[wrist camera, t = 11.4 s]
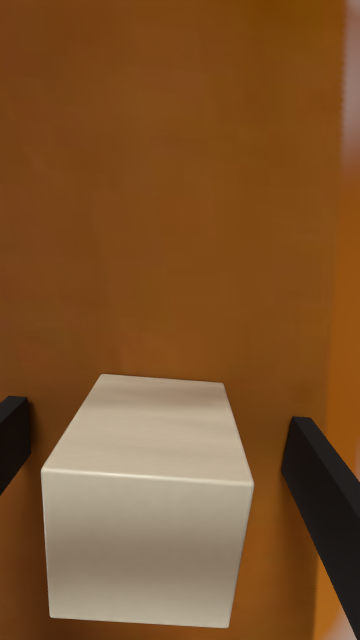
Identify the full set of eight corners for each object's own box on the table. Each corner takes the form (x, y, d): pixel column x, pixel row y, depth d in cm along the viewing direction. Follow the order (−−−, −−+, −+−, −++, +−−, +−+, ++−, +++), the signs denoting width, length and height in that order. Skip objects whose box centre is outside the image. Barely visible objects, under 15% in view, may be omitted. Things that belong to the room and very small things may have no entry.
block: (101, 372, 11) (38, 469, 6) (223, 382, 11) (256, 484, 6) (100, 474, 12) (48, 619, 8) (210, 481, 12) (228, 630, 8)
